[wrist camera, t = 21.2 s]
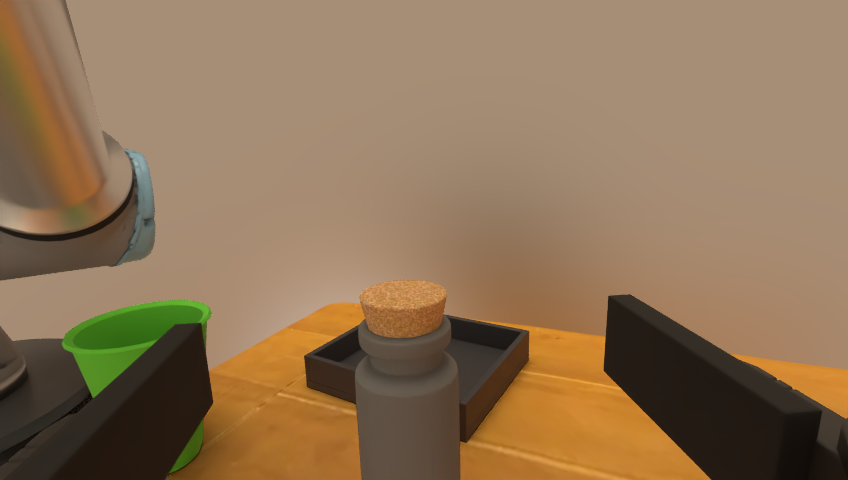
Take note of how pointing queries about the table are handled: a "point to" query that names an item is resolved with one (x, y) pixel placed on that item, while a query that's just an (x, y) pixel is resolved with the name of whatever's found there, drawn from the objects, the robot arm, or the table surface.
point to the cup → (131, 346)
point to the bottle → (407, 385)
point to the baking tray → (469, 346)
